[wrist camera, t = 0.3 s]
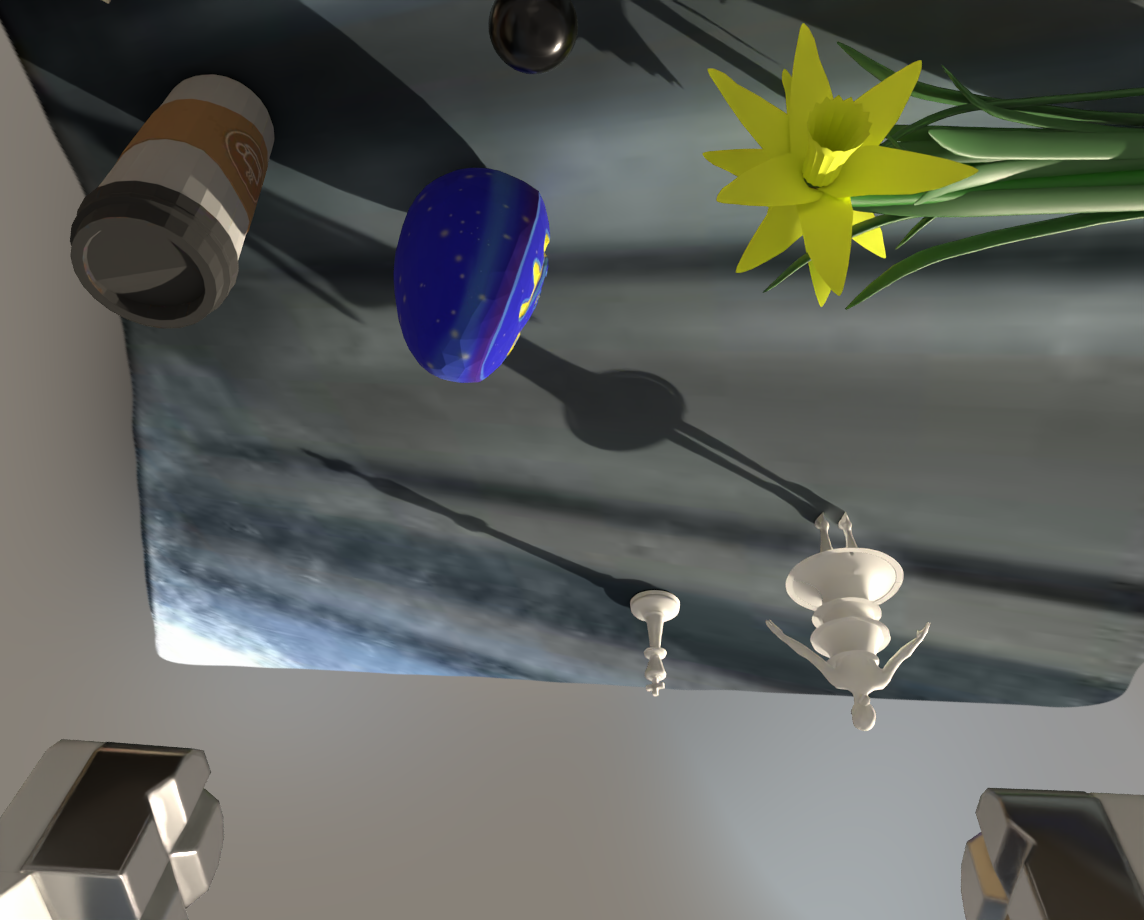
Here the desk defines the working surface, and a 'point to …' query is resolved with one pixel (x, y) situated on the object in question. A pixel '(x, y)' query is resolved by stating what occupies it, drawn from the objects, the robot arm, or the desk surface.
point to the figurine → (848, 616)
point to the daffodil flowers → (918, 167)
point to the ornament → (469, 271)
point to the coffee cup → (176, 206)
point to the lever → (533, 33)
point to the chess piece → (655, 630)
